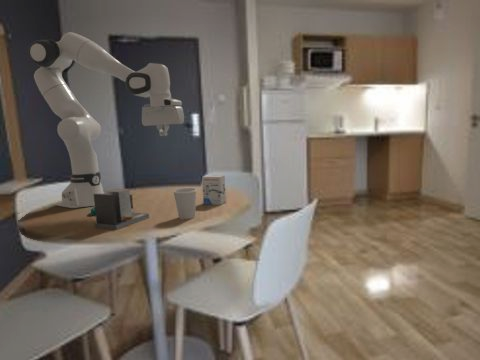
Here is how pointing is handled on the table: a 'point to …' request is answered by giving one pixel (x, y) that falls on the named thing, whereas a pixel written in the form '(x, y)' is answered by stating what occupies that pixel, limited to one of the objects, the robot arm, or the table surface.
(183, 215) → the dixie cup
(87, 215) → the table surface
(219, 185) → the ink box
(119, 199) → the tall grey rectangular prism
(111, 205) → the gauge bed
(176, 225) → the table surface
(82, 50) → the robot arm
